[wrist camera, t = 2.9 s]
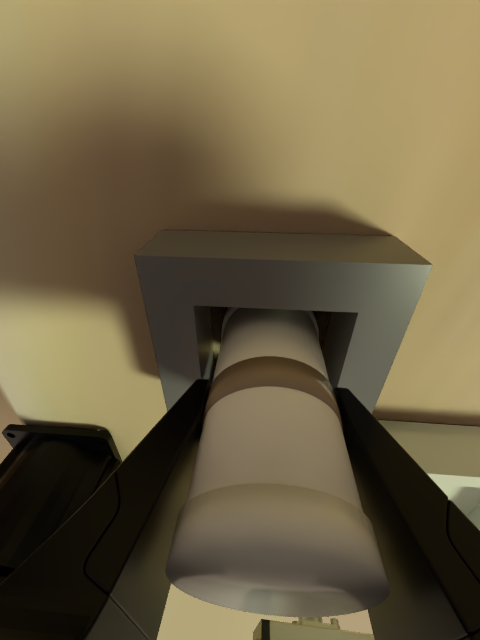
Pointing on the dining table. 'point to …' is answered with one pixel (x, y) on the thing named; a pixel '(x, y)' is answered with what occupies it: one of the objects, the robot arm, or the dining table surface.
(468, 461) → the parts tray
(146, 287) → the grey square frame
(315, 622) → the pneumatic valve
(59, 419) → the dining table surface
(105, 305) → the dining table surface
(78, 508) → the robot arm
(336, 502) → the white light bulb
